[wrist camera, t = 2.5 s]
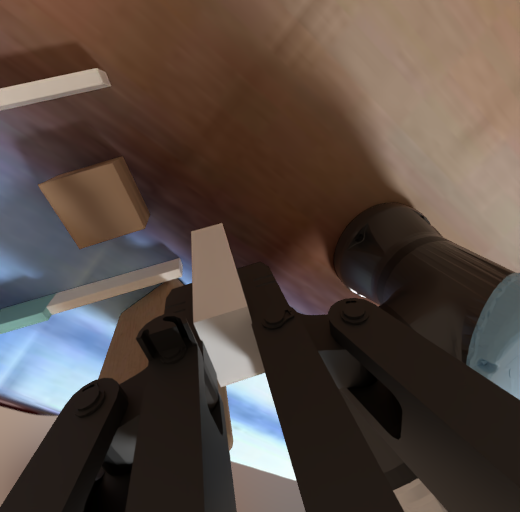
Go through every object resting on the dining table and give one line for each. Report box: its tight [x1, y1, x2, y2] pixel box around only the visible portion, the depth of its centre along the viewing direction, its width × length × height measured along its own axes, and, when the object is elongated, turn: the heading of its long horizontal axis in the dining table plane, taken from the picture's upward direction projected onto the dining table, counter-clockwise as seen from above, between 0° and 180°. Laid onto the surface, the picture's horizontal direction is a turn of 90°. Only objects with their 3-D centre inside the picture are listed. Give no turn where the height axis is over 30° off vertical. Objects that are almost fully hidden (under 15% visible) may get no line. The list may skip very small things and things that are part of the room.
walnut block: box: [38, 156, 150, 249], centre depth 30 cm, size 7×7×5 cm
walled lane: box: [0, 68, 183, 334], centre depth 30 cm, size 28×22×4 cm
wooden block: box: [98, 278, 233, 451], centre depth 32 cm, size 10×10×20 cm
